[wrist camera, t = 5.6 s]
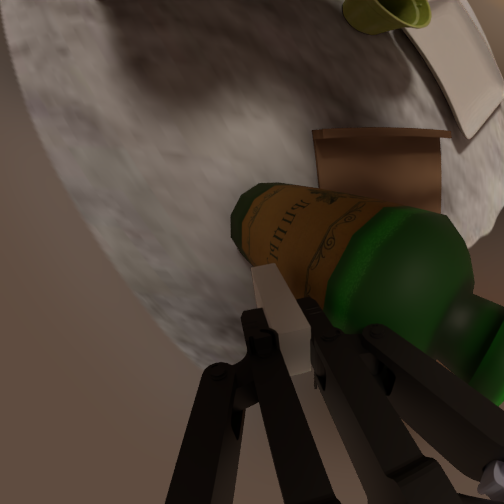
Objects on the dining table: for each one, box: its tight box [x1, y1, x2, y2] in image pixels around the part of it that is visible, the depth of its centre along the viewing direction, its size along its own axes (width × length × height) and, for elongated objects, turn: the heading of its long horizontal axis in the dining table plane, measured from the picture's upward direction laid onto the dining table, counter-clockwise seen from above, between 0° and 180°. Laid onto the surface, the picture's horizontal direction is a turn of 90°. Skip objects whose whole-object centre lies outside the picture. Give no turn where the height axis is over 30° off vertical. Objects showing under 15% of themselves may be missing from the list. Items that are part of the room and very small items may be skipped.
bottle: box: [231, 183, 504, 407], centre depth 18 cm, size 11×11×28 cm
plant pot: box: [342, 0, 432, 35], centre depth 18 cm, size 9×9×9 cm
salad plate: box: [401, 0, 504, 140], centre depth 24 cm, size 21×21×3 cm
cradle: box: [312, 127, 452, 214], centre depth 30 cm, size 18×20×3 cm
